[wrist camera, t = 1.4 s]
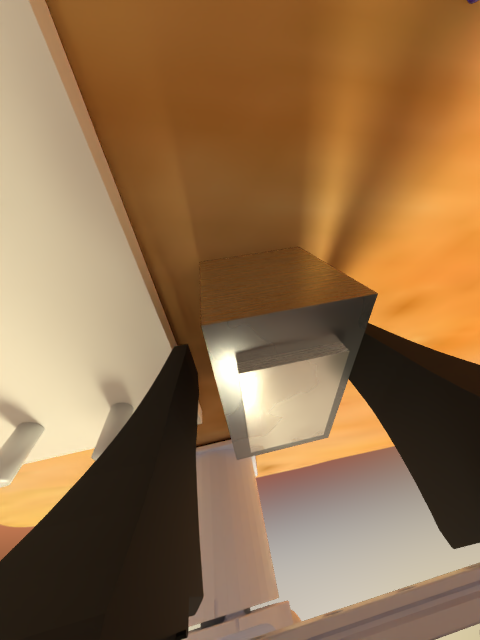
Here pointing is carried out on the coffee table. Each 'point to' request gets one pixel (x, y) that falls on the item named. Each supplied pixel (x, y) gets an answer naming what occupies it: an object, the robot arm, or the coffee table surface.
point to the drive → (280, 344)
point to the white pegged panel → (64, 263)
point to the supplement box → (472, 1)
